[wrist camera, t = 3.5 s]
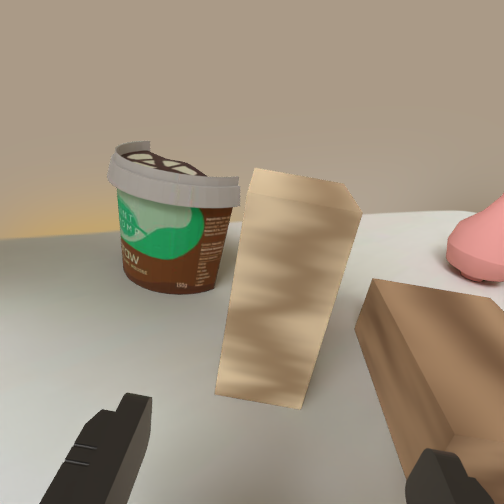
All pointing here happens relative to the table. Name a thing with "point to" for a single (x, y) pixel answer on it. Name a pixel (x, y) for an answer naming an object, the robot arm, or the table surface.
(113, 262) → the table surface
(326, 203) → the oak post
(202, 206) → the food container
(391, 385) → the base block
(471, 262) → the pink vase
